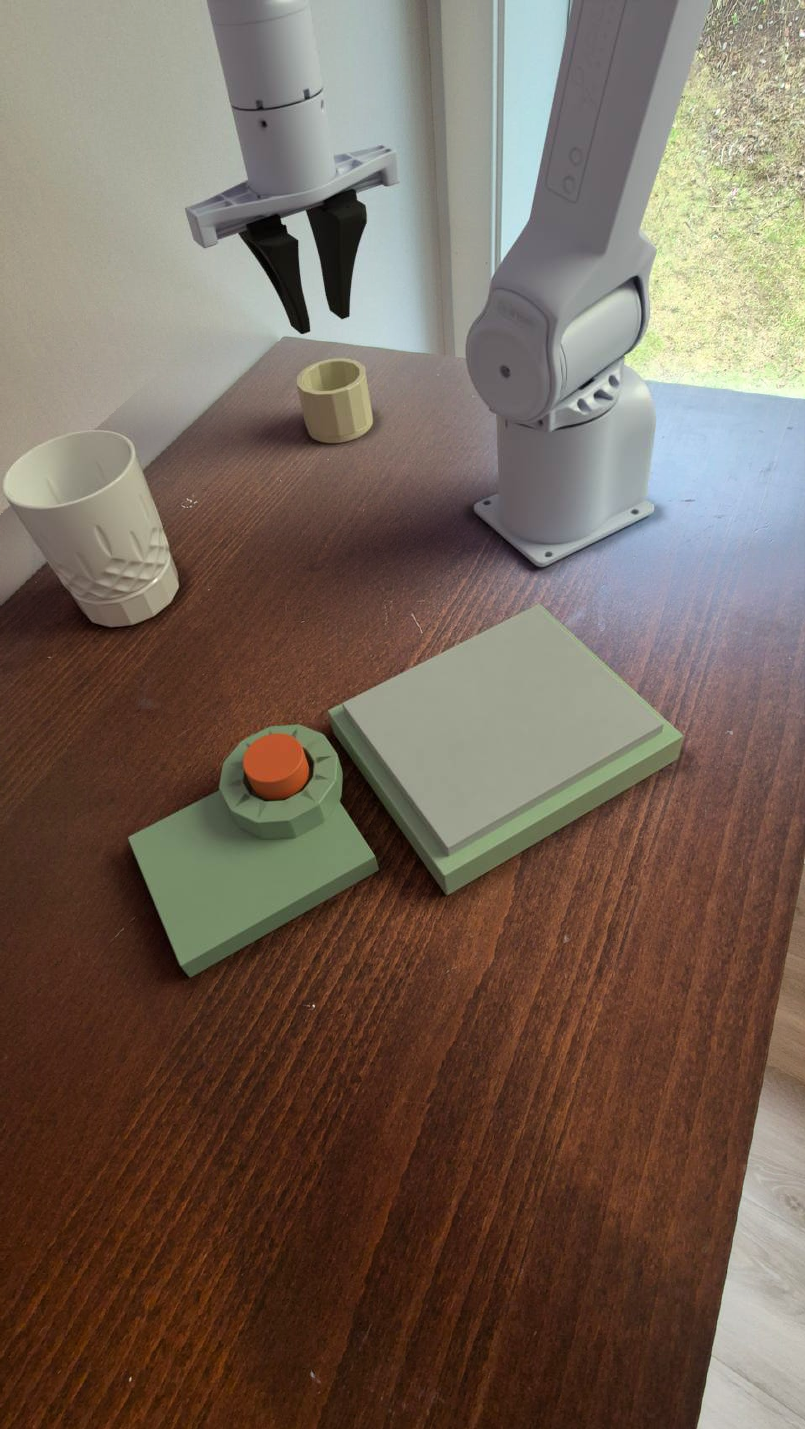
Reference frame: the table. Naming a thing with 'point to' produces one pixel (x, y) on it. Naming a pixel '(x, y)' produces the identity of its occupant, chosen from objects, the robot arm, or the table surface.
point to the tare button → (276, 766)
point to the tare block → (251, 856)
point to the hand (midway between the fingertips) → (320, 321)
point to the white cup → (95, 524)
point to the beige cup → (335, 400)
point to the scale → (500, 743)
